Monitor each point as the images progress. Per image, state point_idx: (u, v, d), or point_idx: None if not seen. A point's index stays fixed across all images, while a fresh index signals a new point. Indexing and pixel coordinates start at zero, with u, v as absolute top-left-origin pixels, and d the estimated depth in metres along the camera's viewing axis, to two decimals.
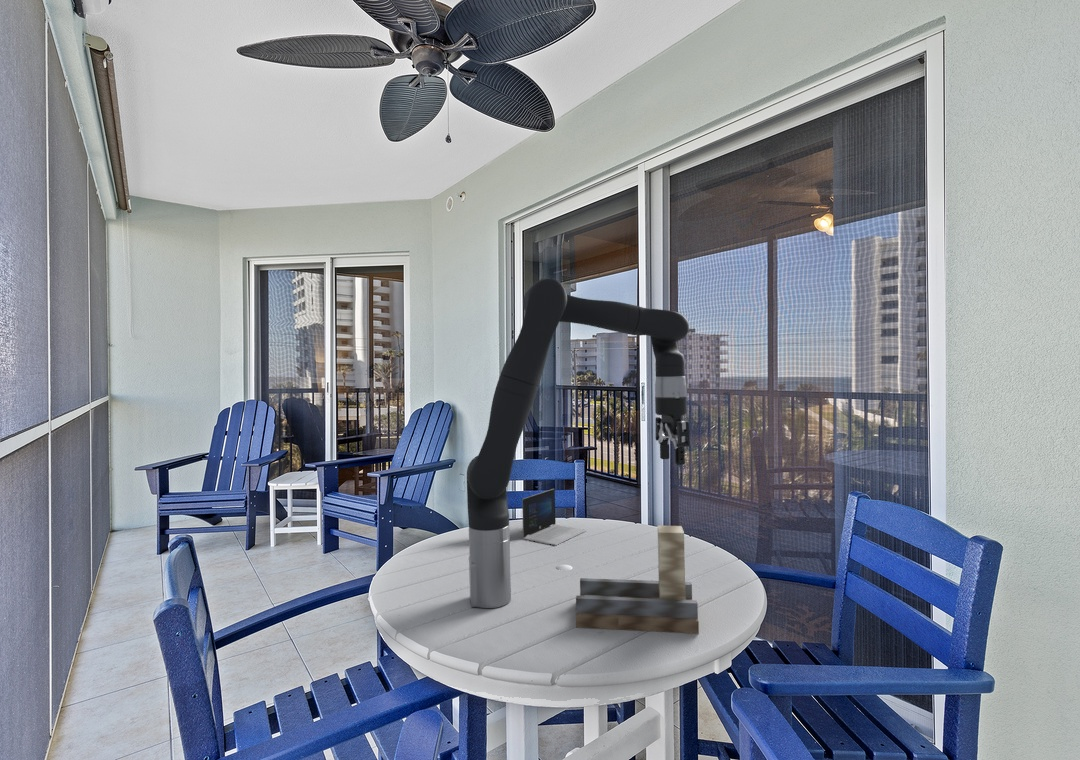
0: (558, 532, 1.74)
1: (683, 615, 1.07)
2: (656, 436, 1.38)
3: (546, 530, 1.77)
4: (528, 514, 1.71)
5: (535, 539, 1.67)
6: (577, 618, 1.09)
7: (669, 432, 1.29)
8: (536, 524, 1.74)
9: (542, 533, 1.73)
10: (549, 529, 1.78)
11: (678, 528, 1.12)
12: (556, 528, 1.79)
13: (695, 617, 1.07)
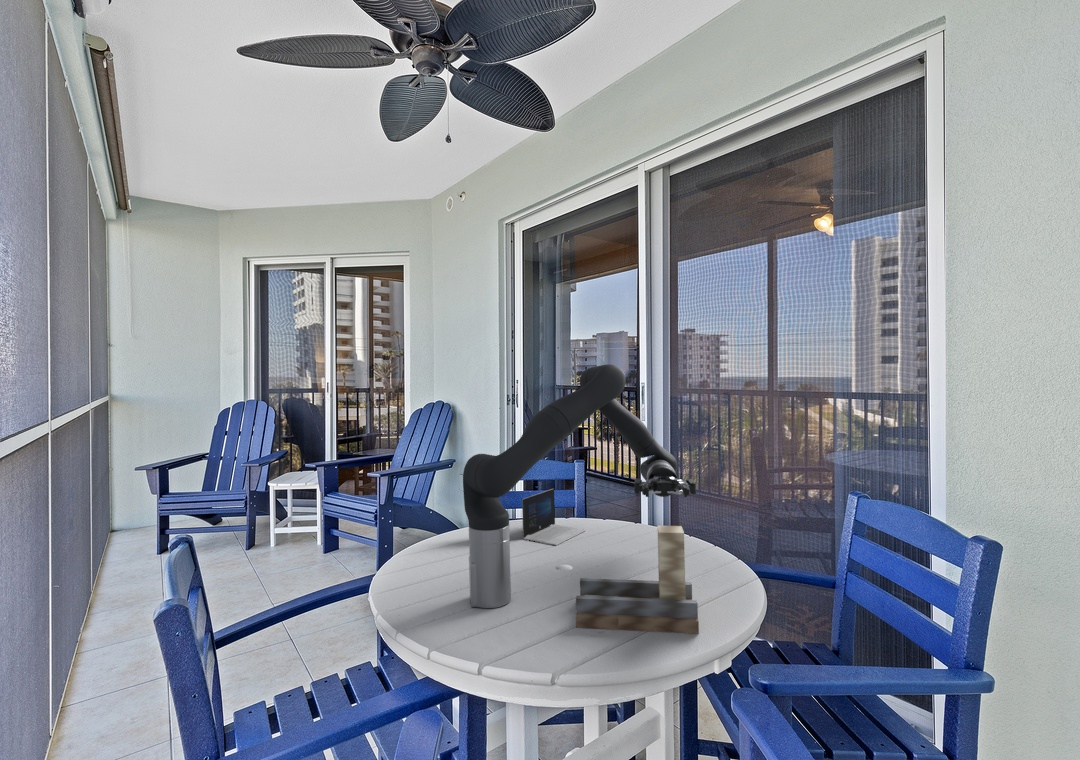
0: (558, 532, 1.74)
1: (683, 615, 1.07)
2: None
3: (546, 530, 1.77)
4: (528, 514, 1.71)
5: (535, 539, 1.67)
6: (577, 618, 1.09)
7: (675, 478, 1.30)
8: (536, 524, 1.74)
9: (542, 533, 1.73)
10: (549, 529, 1.78)
11: (678, 528, 1.12)
12: (555, 527, 1.79)
13: (695, 617, 1.07)
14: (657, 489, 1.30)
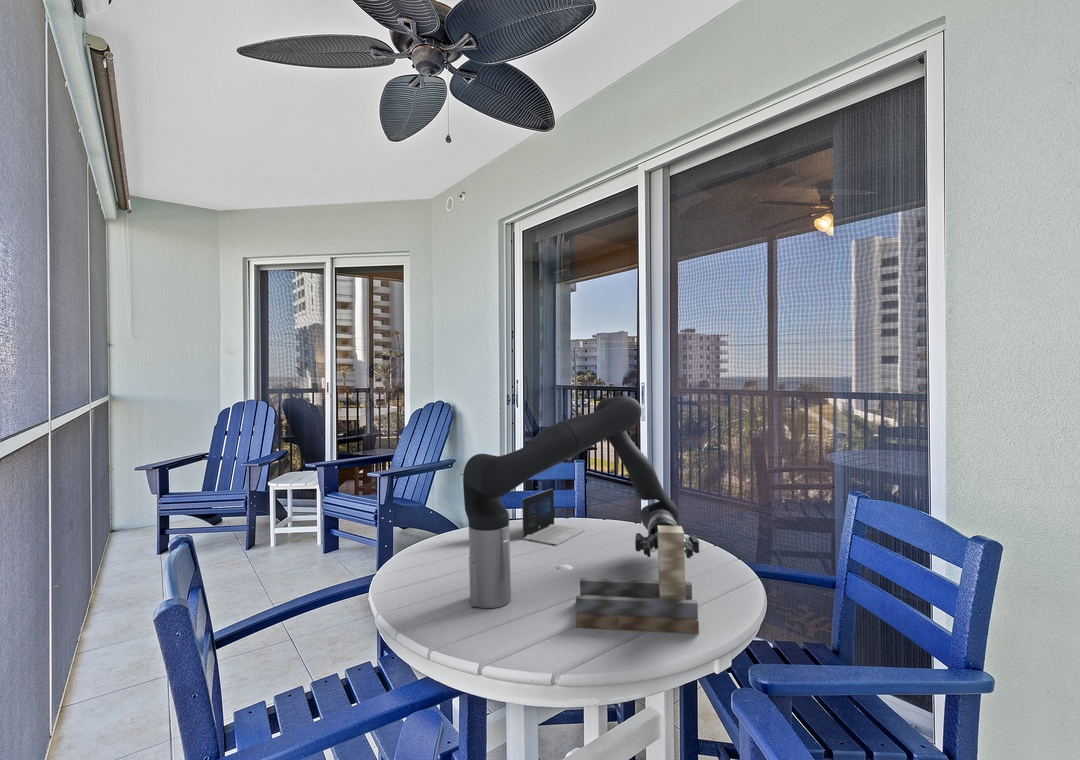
0: (557, 532, 1.74)
1: (683, 615, 1.07)
2: None
3: (545, 530, 1.77)
4: (528, 514, 1.71)
5: (535, 539, 1.67)
6: (577, 618, 1.09)
7: None
8: (535, 524, 1.74)
9: (542, 533, 1.73)
10: (548, 529, 1.78)
11: (678, 528, 1.12)
12: (555, 527, 1.79)
13: (695, 617, 1.07)
14: None
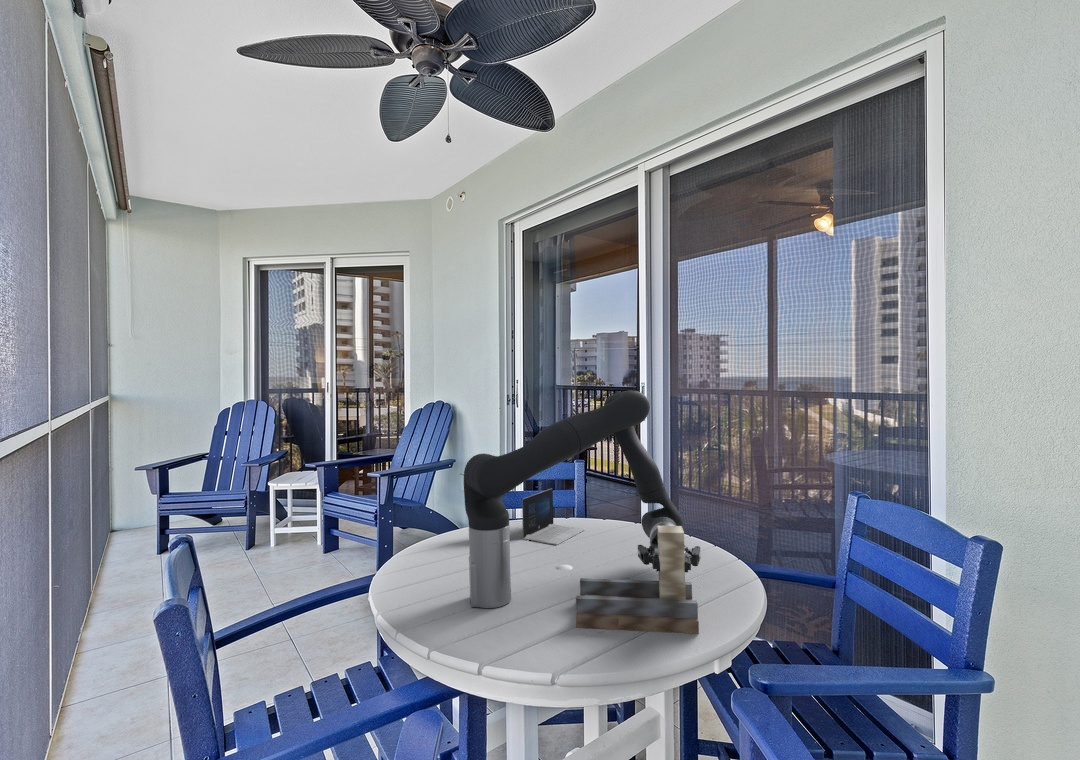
0: (557, 532, 1.74)
1: (683, 615, 1.07)
2: (645, 551, 1.16)
3: (545, 530, 1.77)
4: (528, 514, 1.71)
5: (535, 539, 1.67)
6: (577, 618, 1.09)
7: None
8: (535, 524, 1.75)
9: (541, 533, 1.74)
10: (548, 529, 1.78)
11: (678, 528, 1.12)
12: (554, 527, 1.79)
13: (695, 617, 1.07)
14: None
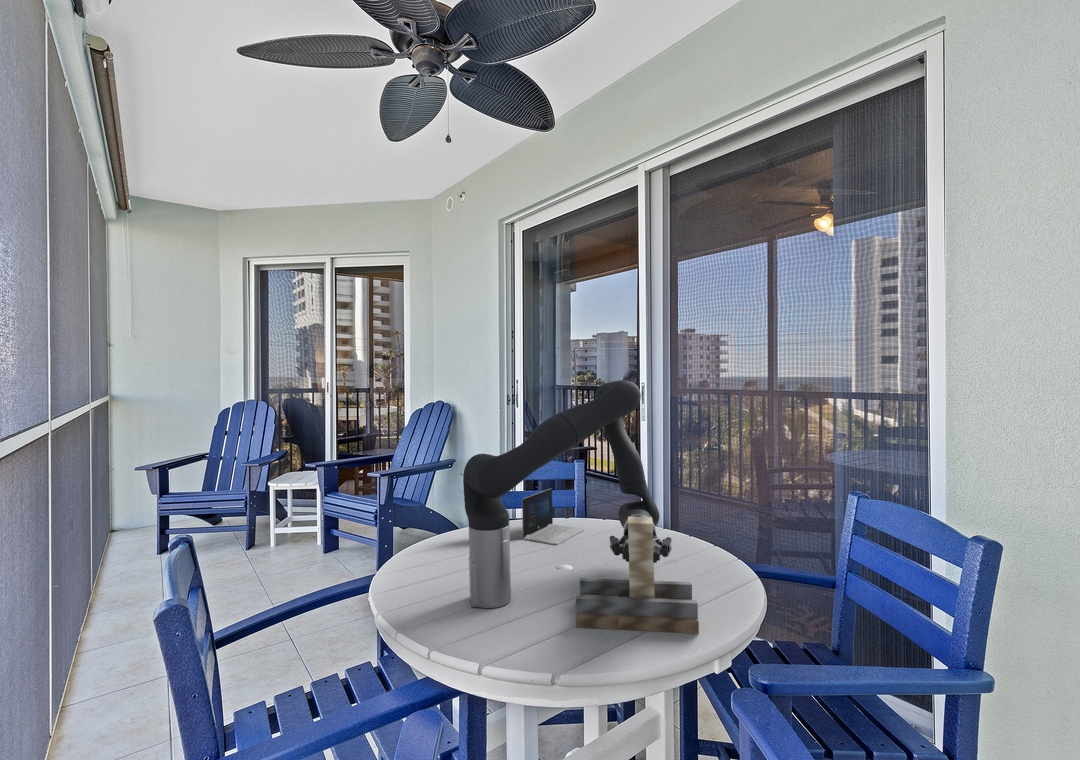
0: (557, 531, 1.75)
1: (683, 615, 1.07)
2: None
3: (544, 530, 1.77)
4: (527, 514, 1.71)
5: (535, 539, 1.67)
6: (577, 618, 1.09)
7: None
8: (535, 524, 1.75)
9: (541, 533, 1.74)
10: (547, 529, 1.78)
11: (648, 519, 1.13)
12: (554, 527, 1.80)
13: (695, 617, 1.07)
14: None
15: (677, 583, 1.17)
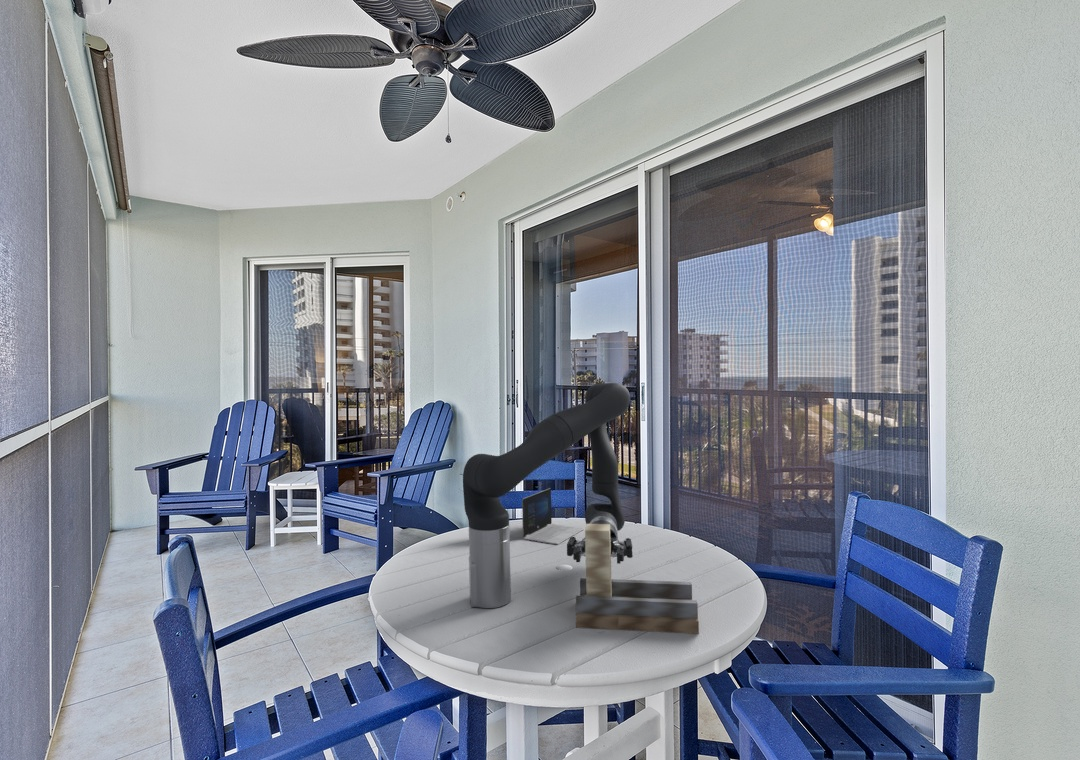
0: (556, 531, 1.75)
1: (683, 615, 1.07)
2: None
3: (544, 530, 1.77)
4: (527, 514, 1.71)
5: (535, 539, 1.67)
6: (577, 618, 1.09)
7: (611, 539, 1.20)
8: (534, 524, 1.75)
9: (541, 533, 1.74)
10: (546, 528, 1.78)
11: (606, 526, 1.15)
12: (553, 527, 1.80)
13: (695, 617, 1.07)
14: None
15: (677, 583, 1.17)
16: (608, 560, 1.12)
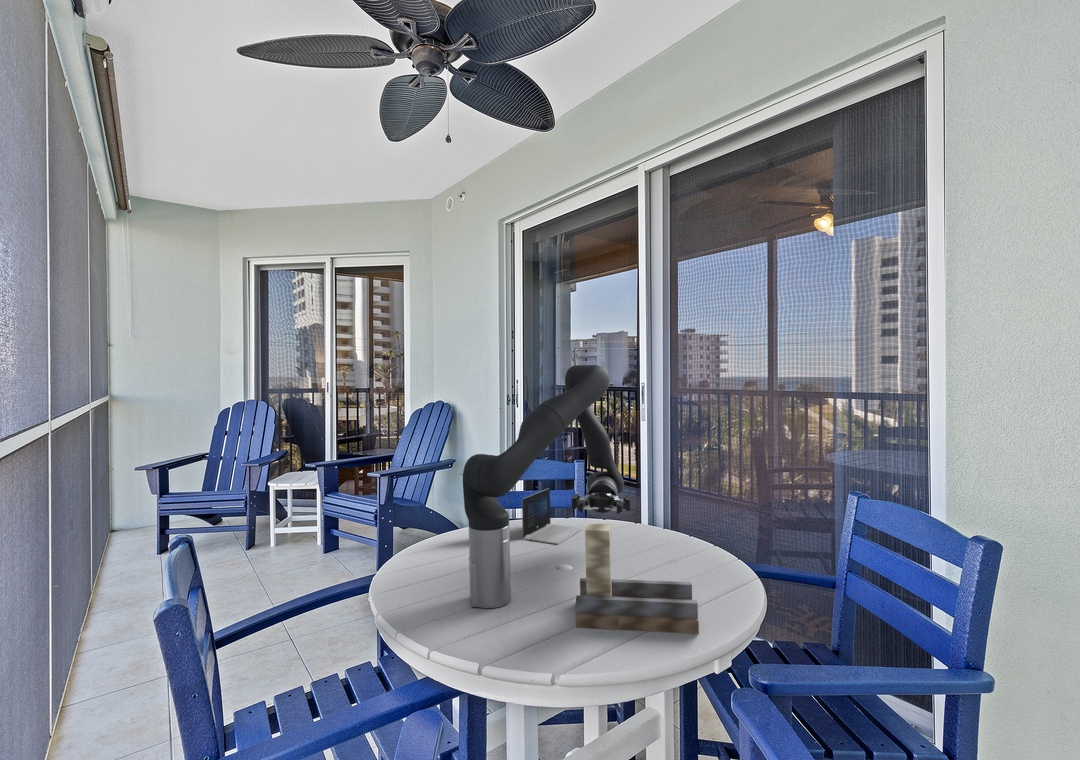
0: (556, 531, 1.75)
1: (683, 615, 1.07)
2: (574, 498, 1.32)
3: (543, 529, 1.77)
4: (527, 514, 1.71)
5: (535, 539, 1.68)
6: (577, 618, 1.09)
7: (611, 495, 1.33)
8: (534, 524, 1.75)
9: (540, 532, 1.74)
10: (546, 528, 1.78)
11: (606, 526, 1.15)
12: (552, 527, 1.80)
13: (695, 617, 1.07)
14: (594, 505, 1.32)
15: (677, 583, 1.17)
16: (608, 560, 1.12)
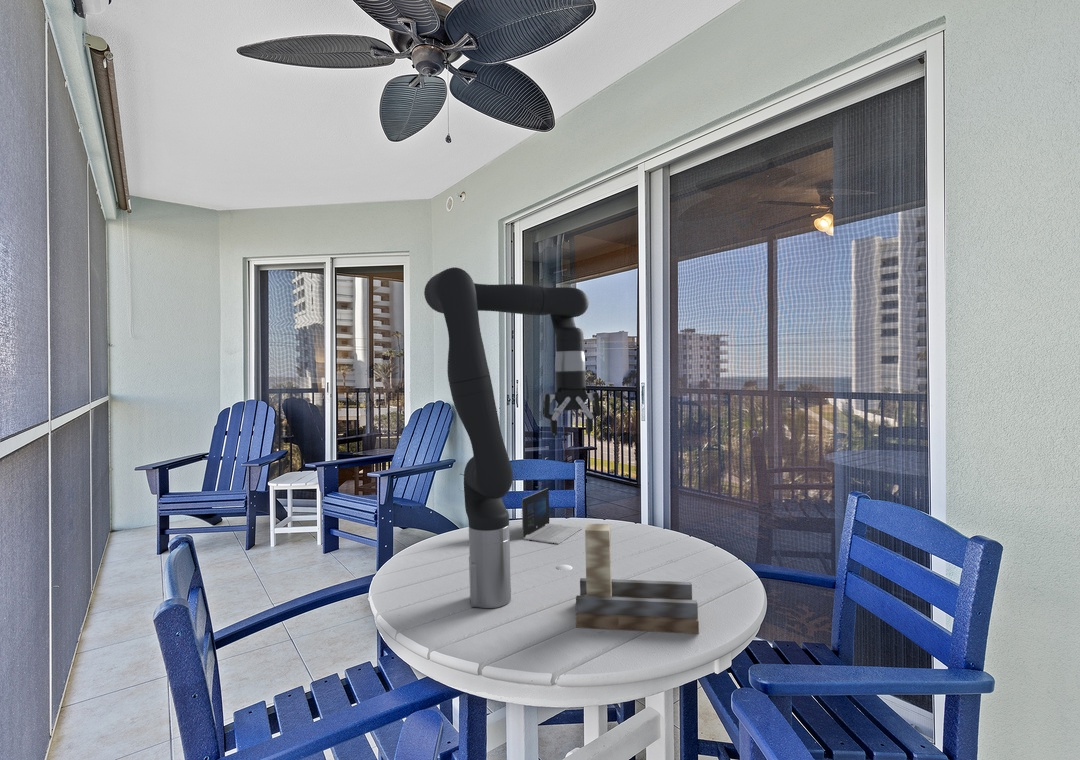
0: (555, 531, 1.75)
1: (683, 615, 1.07)
2: (547, 413, 1.33)
3: (542, 529, 1.77)
4: (527, 514, 1.71)
5: (535, 539, 1.68)
6: (577, 618, 1.09)
7: (583, 404, 1.34)
8: (533, 524, 1.75)
9: (540, 532, 1.74)
10: (545, 528, 1.79)
11: (606, 526, 1.15)
12: (551, 527, 1.80)
13: (695, 617, 1.07)
14: None
15: (677, 583, 1.17)
16: (608, 560, 1.12)
